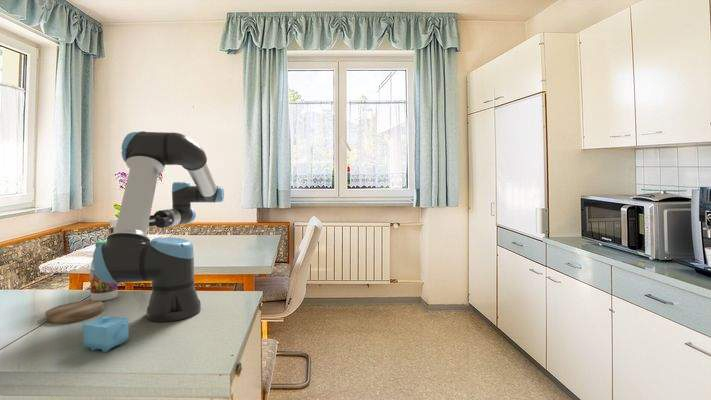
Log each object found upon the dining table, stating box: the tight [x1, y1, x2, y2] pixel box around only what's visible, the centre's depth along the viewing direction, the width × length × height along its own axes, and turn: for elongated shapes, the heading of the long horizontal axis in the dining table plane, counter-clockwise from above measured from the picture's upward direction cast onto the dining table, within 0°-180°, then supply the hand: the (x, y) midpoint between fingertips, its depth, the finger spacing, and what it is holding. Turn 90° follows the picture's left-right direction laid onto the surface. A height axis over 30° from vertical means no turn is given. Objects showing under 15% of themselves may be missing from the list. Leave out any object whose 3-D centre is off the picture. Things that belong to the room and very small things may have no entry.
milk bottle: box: [89, 240, 119, 302], centre depth 124 cm, size 8×8×20 cm
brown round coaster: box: [44, 300, 104, 325], centre depth 110 cm, size 14×14×2 cm
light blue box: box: [82, 315, 130, 353], centre depth 88 cm, size 12×6×8 cm, turn 76°
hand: (125, 224), depth 133 cm, fingers open, 13 cm apart
